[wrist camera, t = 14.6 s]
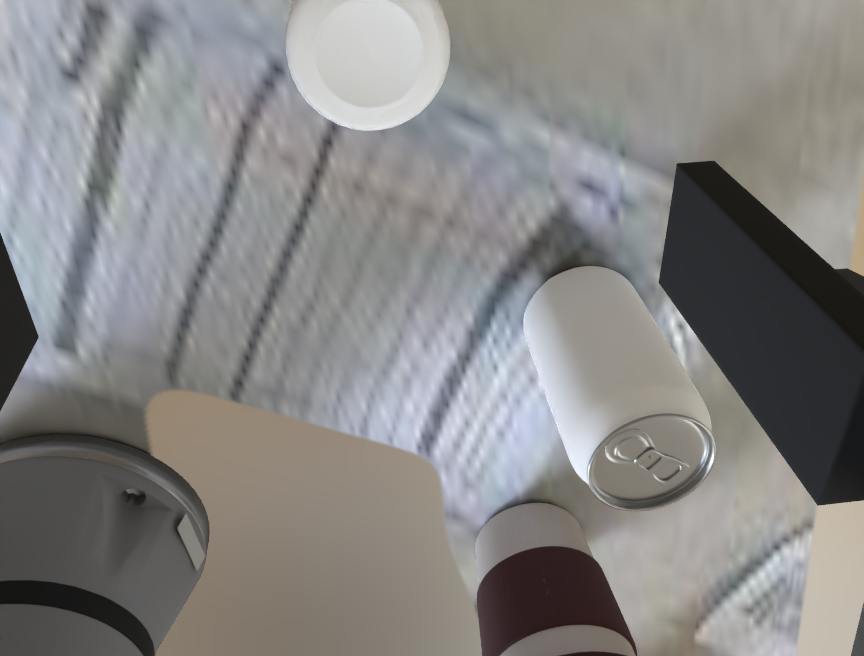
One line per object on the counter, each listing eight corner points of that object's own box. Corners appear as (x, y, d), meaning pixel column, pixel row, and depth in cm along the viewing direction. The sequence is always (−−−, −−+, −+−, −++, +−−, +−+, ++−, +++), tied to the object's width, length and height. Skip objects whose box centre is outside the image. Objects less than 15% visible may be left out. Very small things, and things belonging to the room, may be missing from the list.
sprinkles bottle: (308, -111, 31) (296, -56, 20) (422, -84, 32) (471, -16, 21) (293, 10, 33) (275, 120, 22) (399, 32, 34) (432, 148, 23)
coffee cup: (626, 532, 54) (713, 749, 42) (515, 602, 57) (565, 824, 45) (540, 460, 50) (609, 682, 37) (423, 541, 53) (452, 771, 40)
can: (576, 240, 41) (655, 382, 31) (660, 299, 44) (757, 447, 34) (497, 326, 43) (546, 484, 34) (580, 377, 46) (649, 536, 36)
